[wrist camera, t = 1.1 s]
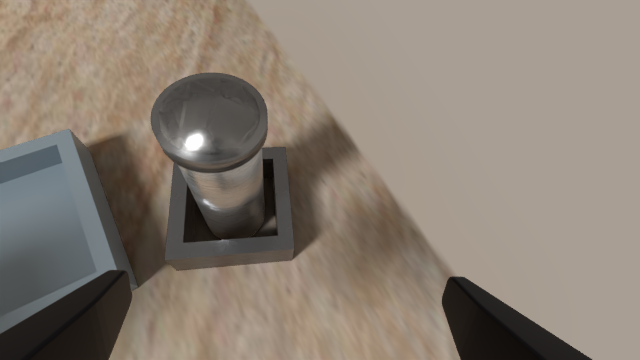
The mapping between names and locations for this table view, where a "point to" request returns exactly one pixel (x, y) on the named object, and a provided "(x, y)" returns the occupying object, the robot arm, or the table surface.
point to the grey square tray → (232, 251)
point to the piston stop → (217, 147)
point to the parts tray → (52, 225)
